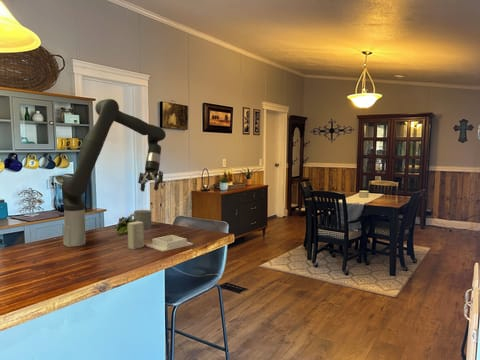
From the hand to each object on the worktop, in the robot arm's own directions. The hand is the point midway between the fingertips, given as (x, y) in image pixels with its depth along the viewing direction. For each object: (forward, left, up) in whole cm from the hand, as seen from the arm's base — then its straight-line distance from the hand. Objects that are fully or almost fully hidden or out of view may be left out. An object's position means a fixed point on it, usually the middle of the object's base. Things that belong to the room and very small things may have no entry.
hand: (149, 190), depth 198 cm
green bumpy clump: (-5, +14, -25) cm, 29 cm away
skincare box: (-17, -15, -25) cm, 34 cm away
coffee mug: (+9, +22, -25) cm, 34 cm away
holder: (-3, -23, -25) cm, 34 cm away
